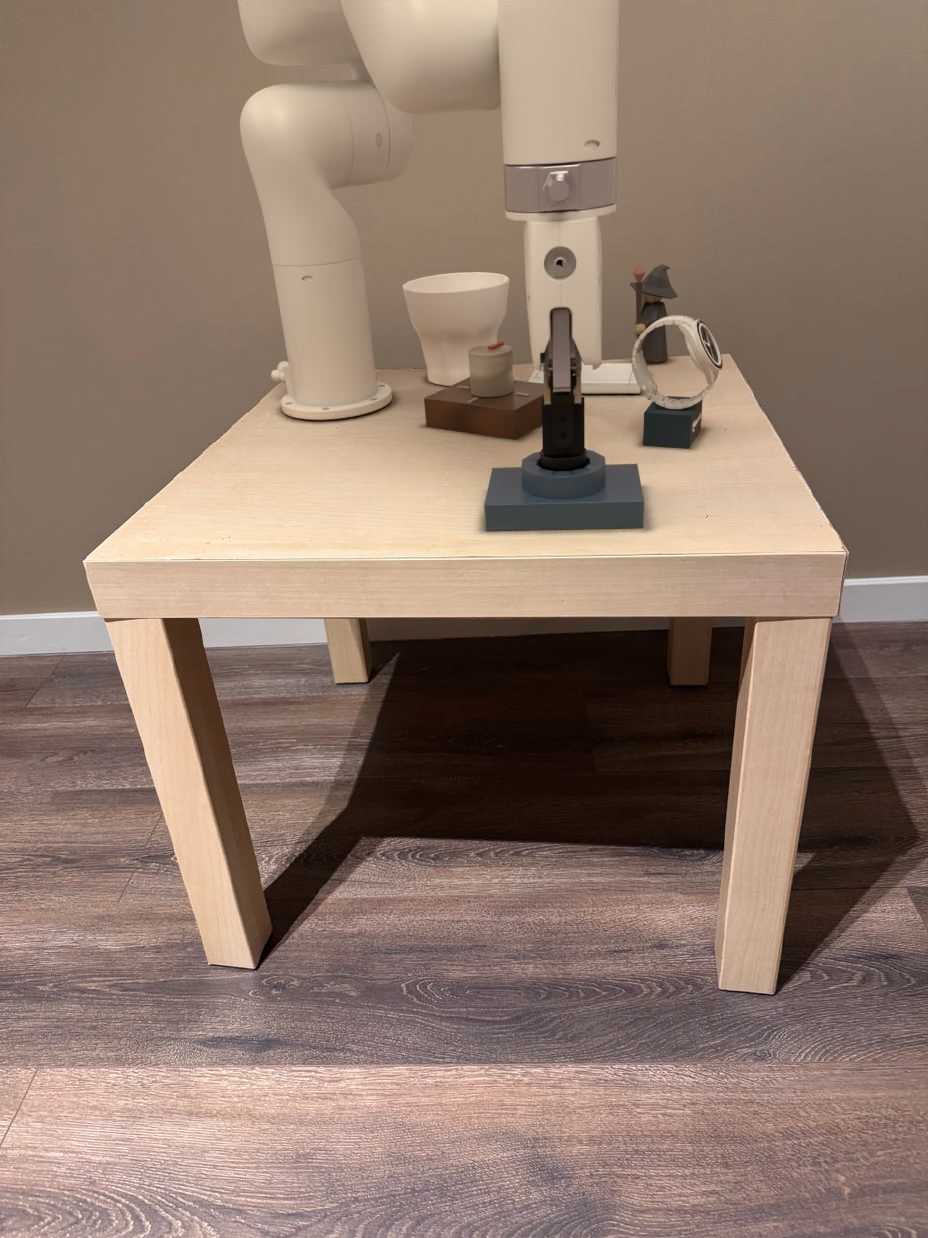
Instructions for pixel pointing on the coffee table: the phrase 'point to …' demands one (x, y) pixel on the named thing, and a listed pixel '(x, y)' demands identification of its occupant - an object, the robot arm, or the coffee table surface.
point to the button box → (564, 496)
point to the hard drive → (602, 379)
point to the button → (563, 461)
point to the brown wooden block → (486, 410)
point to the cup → (455, 319)
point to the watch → (673, 415)
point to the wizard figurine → (652, 310)
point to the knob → (491, 370)
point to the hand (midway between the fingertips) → (563, 450)
